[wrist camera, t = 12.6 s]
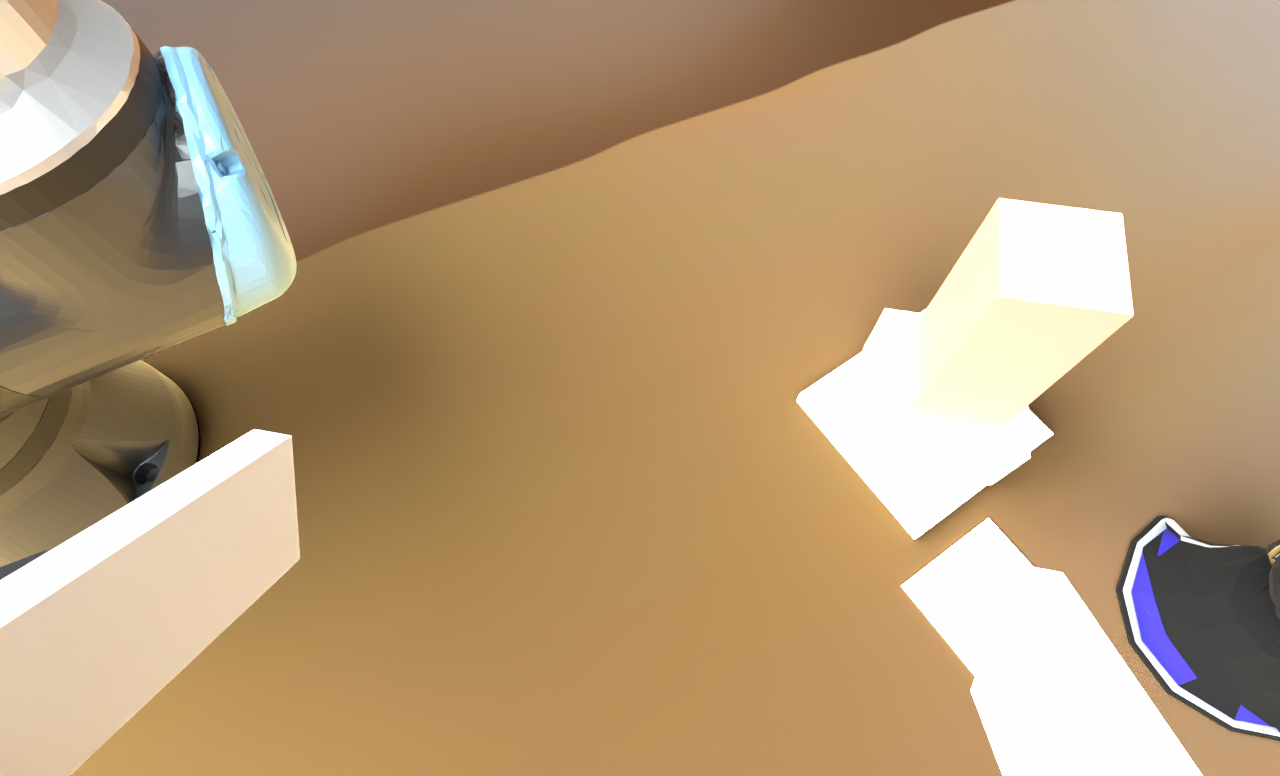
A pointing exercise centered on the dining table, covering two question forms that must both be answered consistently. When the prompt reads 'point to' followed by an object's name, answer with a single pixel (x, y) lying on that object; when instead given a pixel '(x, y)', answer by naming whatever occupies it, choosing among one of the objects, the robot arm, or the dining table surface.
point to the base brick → (925, 419)
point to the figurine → (1207, 623)
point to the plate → (900, 491)
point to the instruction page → (967, 589)
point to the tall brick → (1018, 311)
